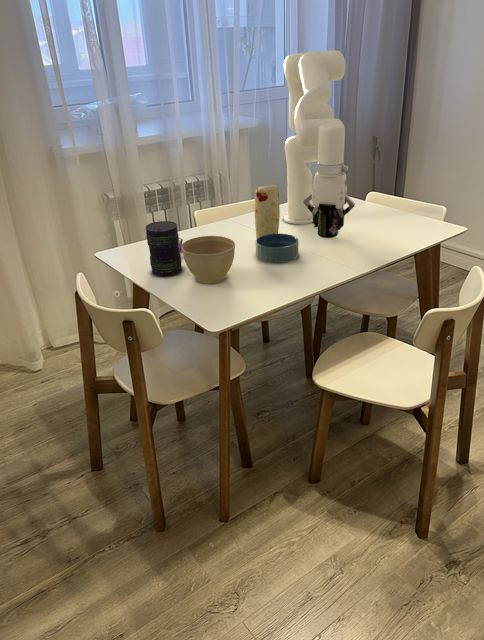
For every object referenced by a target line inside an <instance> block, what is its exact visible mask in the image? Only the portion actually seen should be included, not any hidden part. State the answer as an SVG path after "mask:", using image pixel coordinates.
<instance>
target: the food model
mask: <svg viewBox="0 0 484 640" xmlns="http://www.w3.org/2000/svg"><path fill="white" fill-rule="evenodd" d="M280 204H281V203H280V193H279V187H278V186H277V184H271V185H263V186H261V185H260V186H258V187H256V188H255V190H254V225H255V240H256V239H257V238H258V237H261V236H263V235H267V234H277V233H279V228H280V218H281V217H280V216H281V209H280V206H281V205H280Z"/></svg>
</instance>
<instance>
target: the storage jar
mask: <svg viewBox="0 0 484 640" xmlns="http://www.w3.org/2000/svg"><path fill="white" fill-rule="evenodd" d="M145 236H146V237H145V238H146V241H147V242H146V243H147V246H148V250H149V265H150V268H151V274H152V275H153V276H154V277H157V278H170V277H176V276H178V275H180V274H181V273H182V272H183V267H182V263H183V261H182V258H181V257H182V256H181V253H179V245H178V243H179V238H180V237H179V232H178V224H177V223H176V222H174V221H170V220H161V221H155V222H151V223H148V224H147V225H145ZM178 237H179V238H178Z"/></svg>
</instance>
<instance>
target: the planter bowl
mask: <svg viewBox="0 0 484 640" xmlns="http://www.w3.org/2000/svg"><path fill="white" fill-rule="evenodd" d="M181 248H182V251H183V252H182V255H183V260H184V263H185V265H186V268H187V269H188V270H189V272H191V273H192V275H193V276H194V278H195V280H196V281H197V282H199V283H202V284H216V283H220V282H222V281H224V280H225V279H226V278H227V274H228V272H229V271H230V269H231V267H232V266H233V263H234V260H235V250H236V249H235V248H236V242H235V241H234V240H233V239H232V238H229V237H226V236H221V235H202V236H197V237H193V238H189V239H186V240H185V241H184V242H182V246H181Z"/></svg>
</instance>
